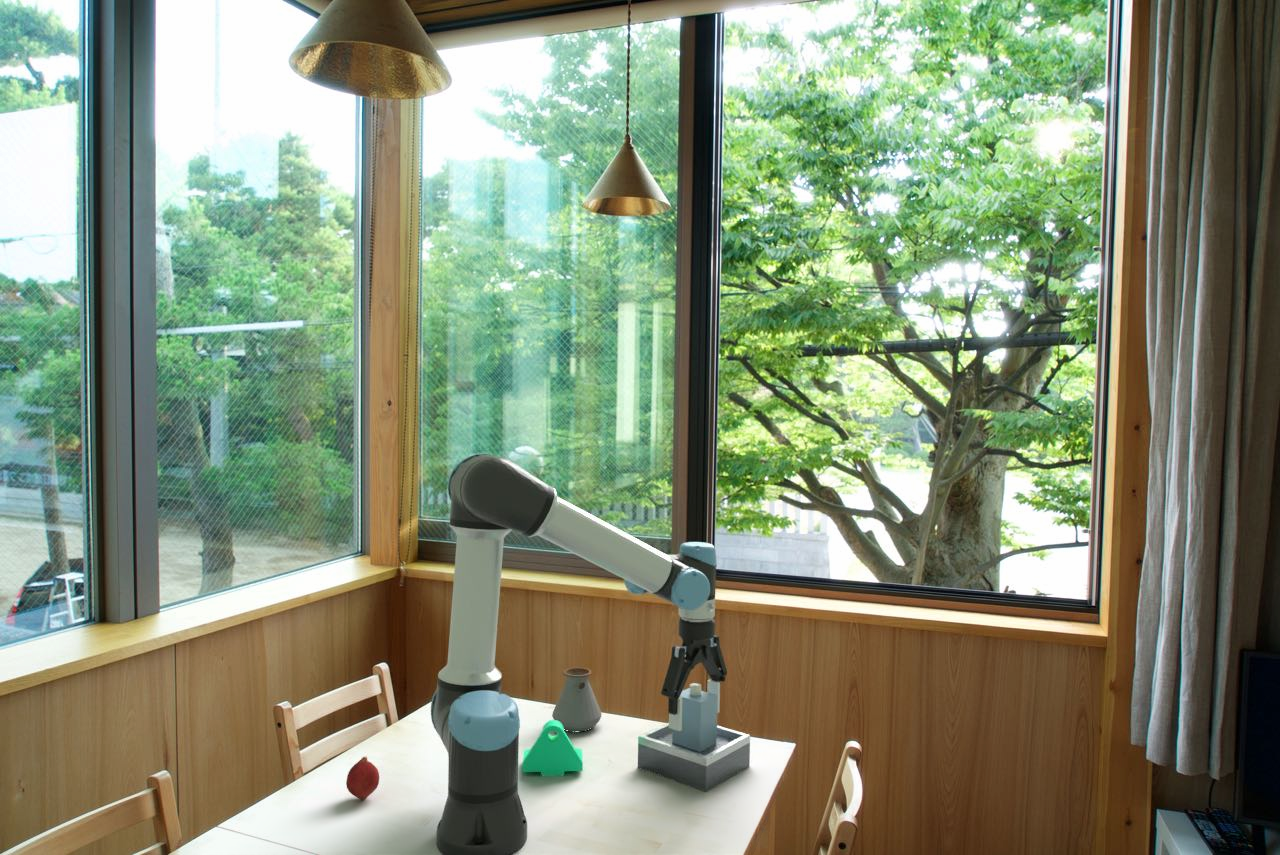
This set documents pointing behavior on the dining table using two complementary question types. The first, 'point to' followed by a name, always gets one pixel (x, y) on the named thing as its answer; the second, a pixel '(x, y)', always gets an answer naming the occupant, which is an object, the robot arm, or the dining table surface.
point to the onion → (362, 779)
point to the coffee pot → (577, 702)
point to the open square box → (694, 757)
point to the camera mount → (552, 752)
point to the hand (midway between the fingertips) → (694, 720)
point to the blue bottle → (697, 719)
